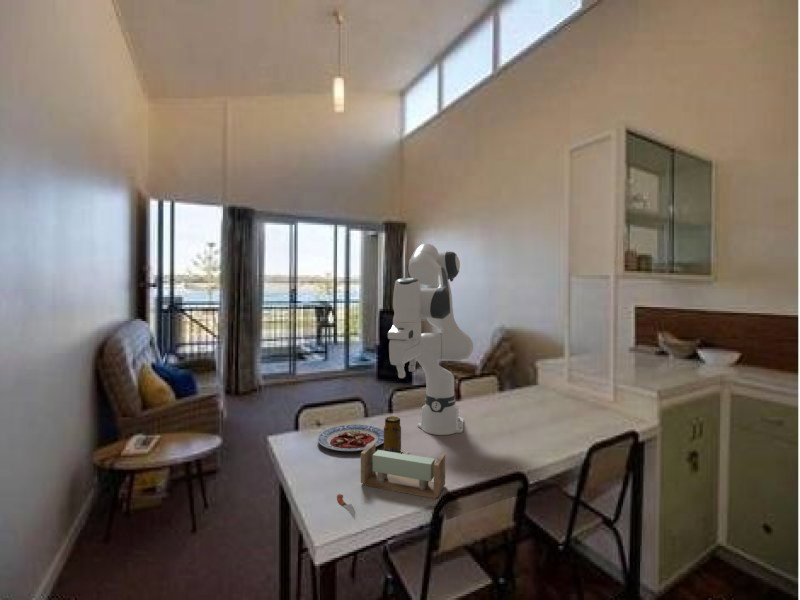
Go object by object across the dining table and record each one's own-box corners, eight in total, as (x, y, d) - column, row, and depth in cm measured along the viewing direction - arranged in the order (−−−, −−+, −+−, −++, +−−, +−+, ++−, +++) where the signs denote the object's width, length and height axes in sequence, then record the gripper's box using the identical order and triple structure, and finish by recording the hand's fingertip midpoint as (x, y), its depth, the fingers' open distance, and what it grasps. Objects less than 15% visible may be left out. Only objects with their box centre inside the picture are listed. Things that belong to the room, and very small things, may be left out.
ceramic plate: (376, 459, 146) (376, 451, 145) (305, 452, 151) (305, 444, 151) (394, 432, 171) (394, 425, 171) (333, 427, 176) (333, 420, 176)
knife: (364, 515, 111) (353, 518, 110) (364, 517, 111) (353, 520, 110) (343, 492, 123) (333, 495, 121) (343, 494, 123) (333, 497, 121)
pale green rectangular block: (378, 465, 132) (378, 449, 132) (434, 475, 126) (434, 458, 126) (372, 471, 129) (372, 454, 128) (430, 481, 122) (430, 464, 122)
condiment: (392, 446, 157) (392, 414, 156) (409, 453, 151) (410, 419, 150) (378, 452, 151) (378, 418, 151) (395, 459, 145) (395, 424, 145)
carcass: (371, 473, 135) (371, 443, 135) (445, 486, 127) (445, 454, 127) (360, 484, 128) (360, 452, 127) (437, 499, 120) (438, 465, 119)
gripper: (408, 326, 145) (408, 366, 146) (385, 333, 126) (385, 380, 126) (426, 326, 143) (426, 368, 143) (405, 334, 123) (405, 382, 124)
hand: (406, 374), depth 135 cm, fingers open, 8 cm apart
